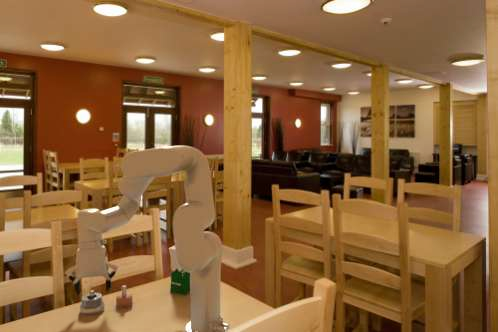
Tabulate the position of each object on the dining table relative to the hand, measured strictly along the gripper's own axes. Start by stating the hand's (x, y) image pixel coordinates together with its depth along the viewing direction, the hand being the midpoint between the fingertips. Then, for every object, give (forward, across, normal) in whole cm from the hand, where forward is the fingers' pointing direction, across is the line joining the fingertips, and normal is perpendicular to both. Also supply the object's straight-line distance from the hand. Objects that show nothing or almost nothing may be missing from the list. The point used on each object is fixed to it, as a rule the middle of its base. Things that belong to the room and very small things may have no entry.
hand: (93, 291), depth 131 cm
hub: (+7, +1, 0) cm, 7 cm away
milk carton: (+8, -31, -11) cm, 34 cm away
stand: (+7, -10, -3) cm, 12 cm away
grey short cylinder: (+5, +1, 0) cm, 5 cm away
